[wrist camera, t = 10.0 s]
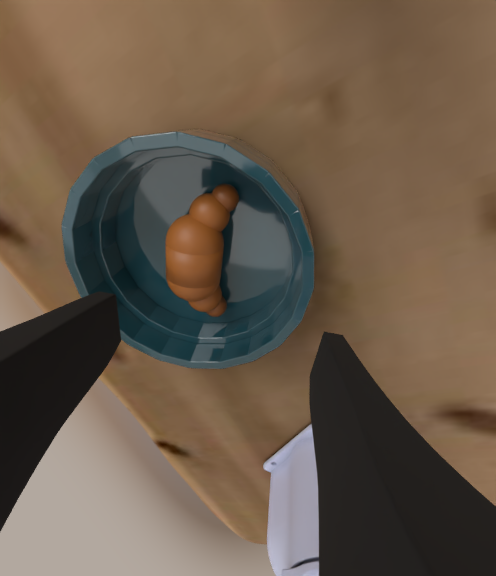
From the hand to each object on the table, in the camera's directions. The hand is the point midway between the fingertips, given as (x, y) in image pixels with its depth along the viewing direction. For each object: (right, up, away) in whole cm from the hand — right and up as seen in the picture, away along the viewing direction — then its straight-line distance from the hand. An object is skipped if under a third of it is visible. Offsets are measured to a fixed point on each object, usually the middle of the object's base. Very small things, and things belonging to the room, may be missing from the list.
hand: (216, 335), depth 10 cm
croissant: (-2, +4, +8) cm, 9 cm away
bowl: (-2, +4, +9) cm, 10 cm away
